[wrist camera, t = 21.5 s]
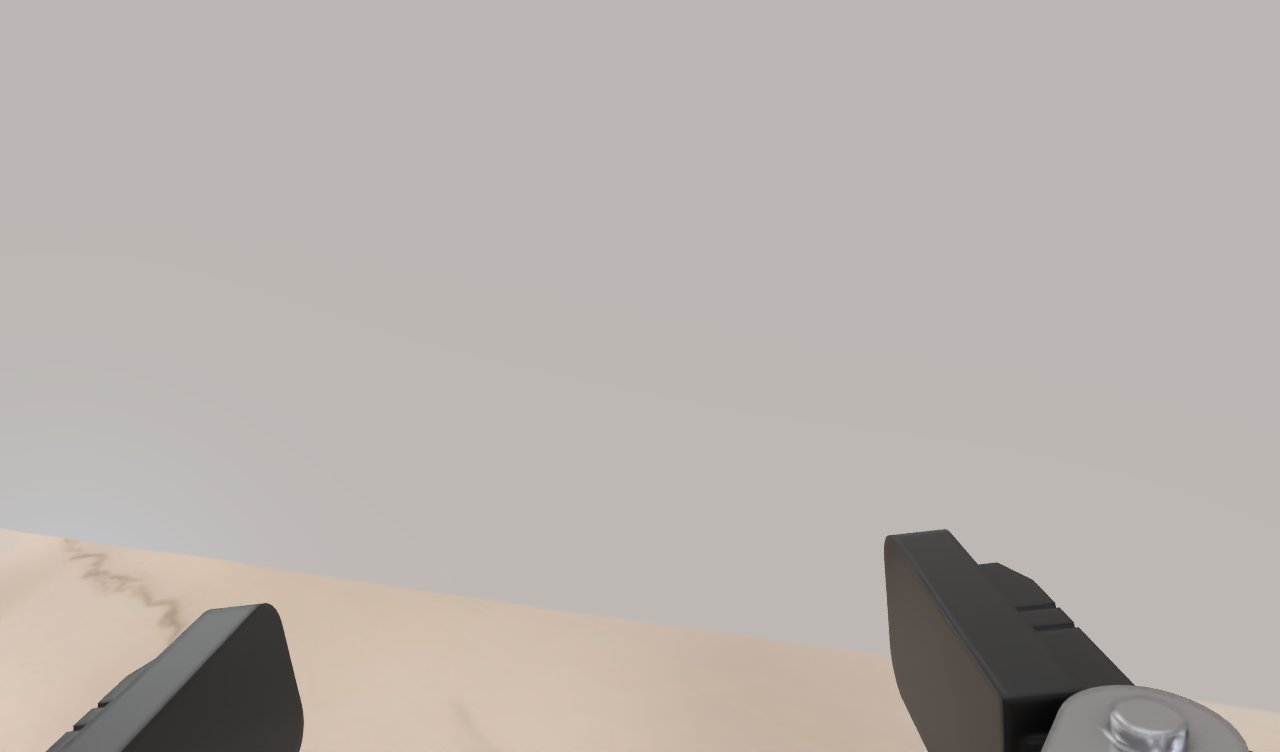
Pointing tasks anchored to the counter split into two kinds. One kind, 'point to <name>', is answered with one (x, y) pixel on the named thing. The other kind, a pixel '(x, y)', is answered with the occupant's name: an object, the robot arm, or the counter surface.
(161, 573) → the counter surface
